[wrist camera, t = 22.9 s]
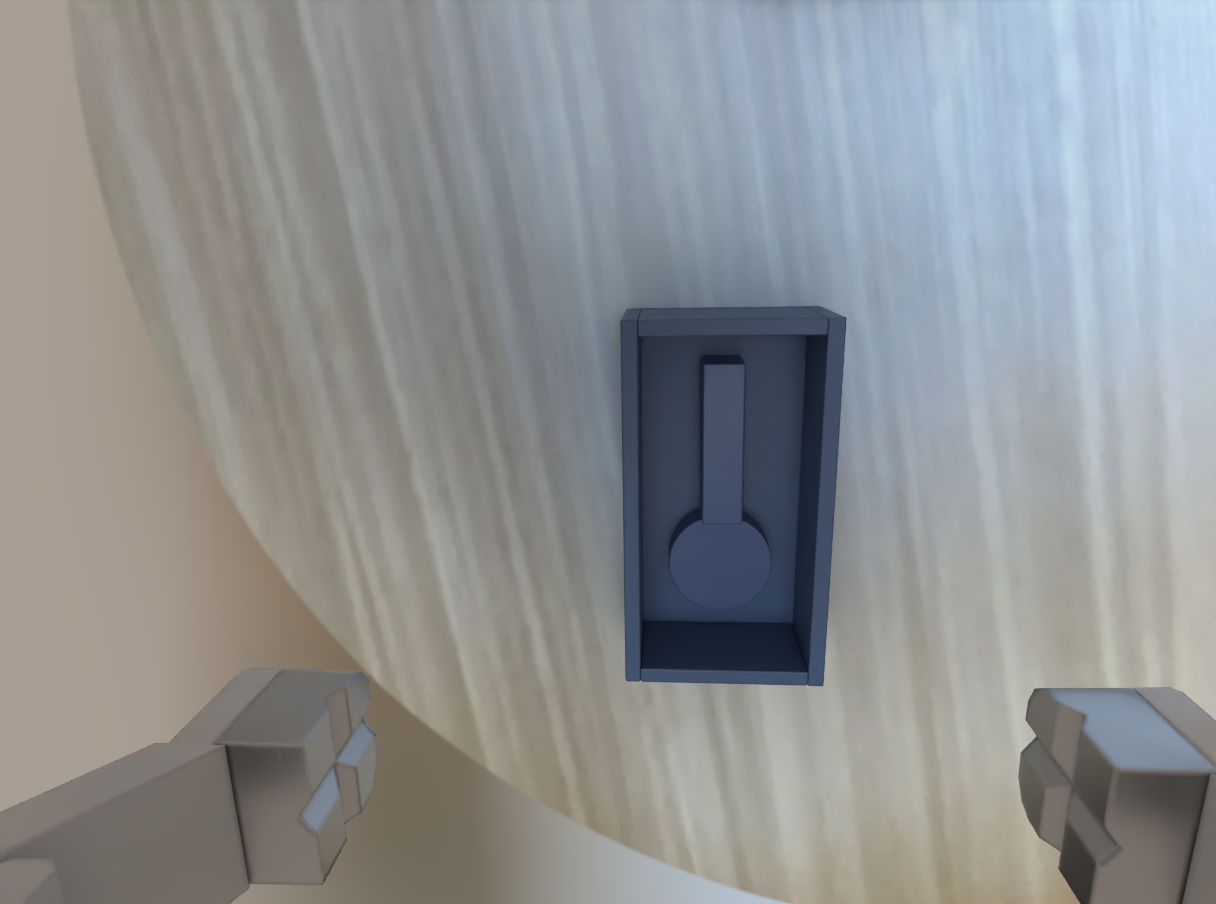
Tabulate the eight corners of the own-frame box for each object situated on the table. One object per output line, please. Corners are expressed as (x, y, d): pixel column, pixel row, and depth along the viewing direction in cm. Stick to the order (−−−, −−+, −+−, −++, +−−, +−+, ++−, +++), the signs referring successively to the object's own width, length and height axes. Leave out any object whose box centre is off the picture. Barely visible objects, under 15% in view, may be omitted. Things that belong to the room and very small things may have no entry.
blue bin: (630, 626, 35) (625, 682, 31) (626, 308, 31) (620, 320, 27) (803, 629, 34) (823, 686, 30) (821, 306, 30) (846, 317, 26)
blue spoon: (668, 355, 31) (668, 364, 29) (774, 354, 31) (782, 362, 29) (668, 594, 34) (669, 618, 32) (765, 595, 33) (772, 619, 31)
